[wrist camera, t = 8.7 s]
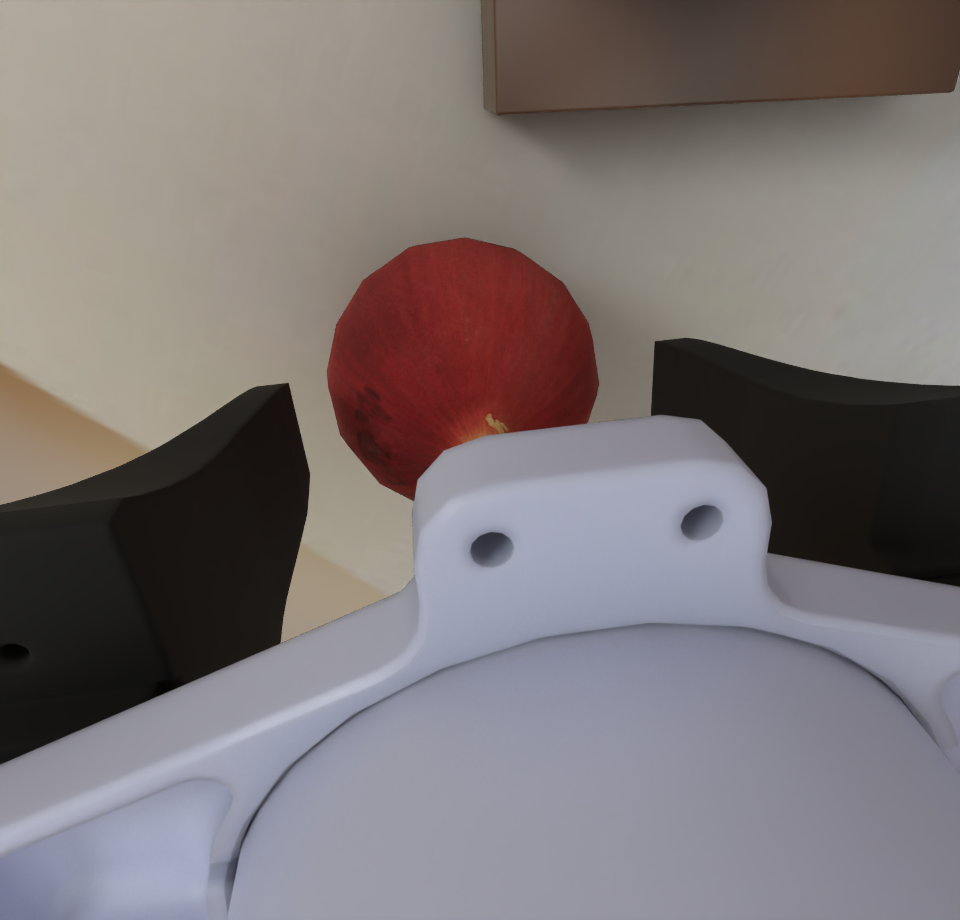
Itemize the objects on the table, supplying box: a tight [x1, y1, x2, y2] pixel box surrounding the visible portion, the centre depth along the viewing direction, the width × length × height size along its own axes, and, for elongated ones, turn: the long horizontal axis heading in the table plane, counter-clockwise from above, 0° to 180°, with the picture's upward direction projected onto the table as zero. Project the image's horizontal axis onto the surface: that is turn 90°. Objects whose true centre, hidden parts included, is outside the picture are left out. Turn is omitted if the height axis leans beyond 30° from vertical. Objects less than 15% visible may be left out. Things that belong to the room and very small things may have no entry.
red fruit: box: [327, 238, 599, 501], centre depth 15 cm, size 6×6×8 cm
